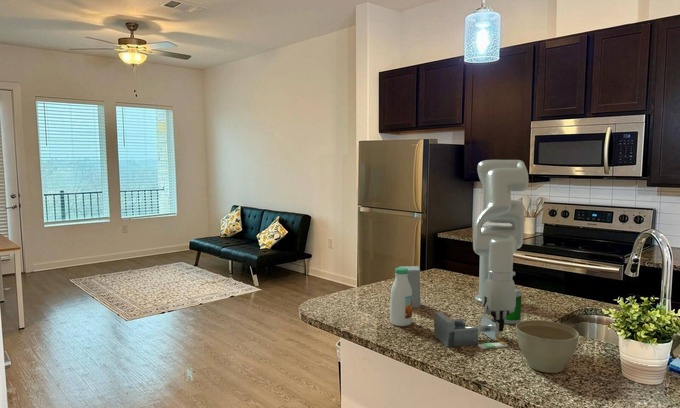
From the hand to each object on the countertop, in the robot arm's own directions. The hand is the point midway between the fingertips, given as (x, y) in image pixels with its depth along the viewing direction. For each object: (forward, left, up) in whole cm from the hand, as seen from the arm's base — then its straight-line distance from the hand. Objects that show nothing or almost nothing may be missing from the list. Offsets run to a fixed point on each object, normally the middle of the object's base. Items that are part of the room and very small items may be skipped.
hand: (498, 330), depth 152 cm
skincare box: (+17, -37, -2) cm, 41 cm away
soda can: (-12, -12, -2) cm, 17 cm away
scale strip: (+6, +7, -2) cm, 10 cm away
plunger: (+7, +2, -2) cm, 8 cm away
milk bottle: (+27, -19, -2) cm, 33 cm away
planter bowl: (-1, +23, -2) cm, 23 cm away
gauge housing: (+15, 0, -2) cm, 16 cm away
